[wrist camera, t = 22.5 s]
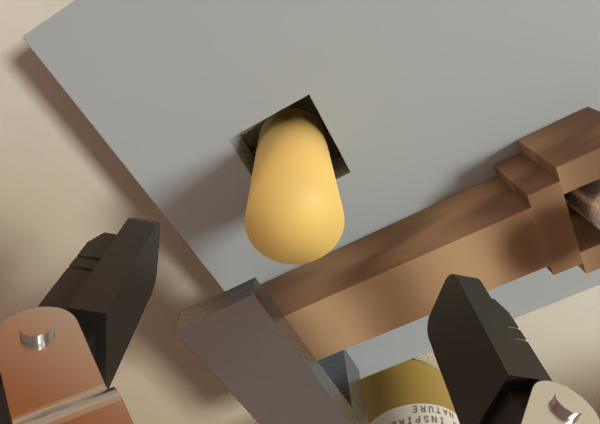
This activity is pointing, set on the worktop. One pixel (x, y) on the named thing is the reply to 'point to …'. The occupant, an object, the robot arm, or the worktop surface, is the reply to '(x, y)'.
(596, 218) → the pintle
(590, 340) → the worktop surface
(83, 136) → the worktop surface
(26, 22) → the worktop surface
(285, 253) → the pin
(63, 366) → the robot arm
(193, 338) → the keeper
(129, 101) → the board
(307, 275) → the link
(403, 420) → the brown bark-textured cylinder
